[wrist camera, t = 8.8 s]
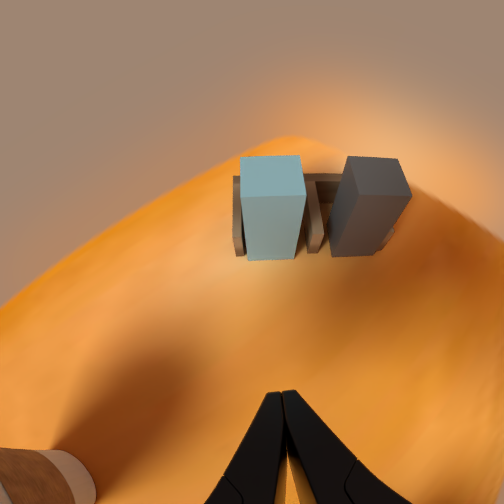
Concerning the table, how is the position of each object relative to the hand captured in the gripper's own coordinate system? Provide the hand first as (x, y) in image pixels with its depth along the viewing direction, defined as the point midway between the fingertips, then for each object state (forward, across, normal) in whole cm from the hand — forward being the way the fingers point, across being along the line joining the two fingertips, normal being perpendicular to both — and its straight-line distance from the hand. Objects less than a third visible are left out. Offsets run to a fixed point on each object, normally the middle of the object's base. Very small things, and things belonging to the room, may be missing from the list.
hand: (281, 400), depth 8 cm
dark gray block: (+16, -7, 0) cm, 18 cm away
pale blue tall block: (+16, -1, -1) cm, 16 cm away
